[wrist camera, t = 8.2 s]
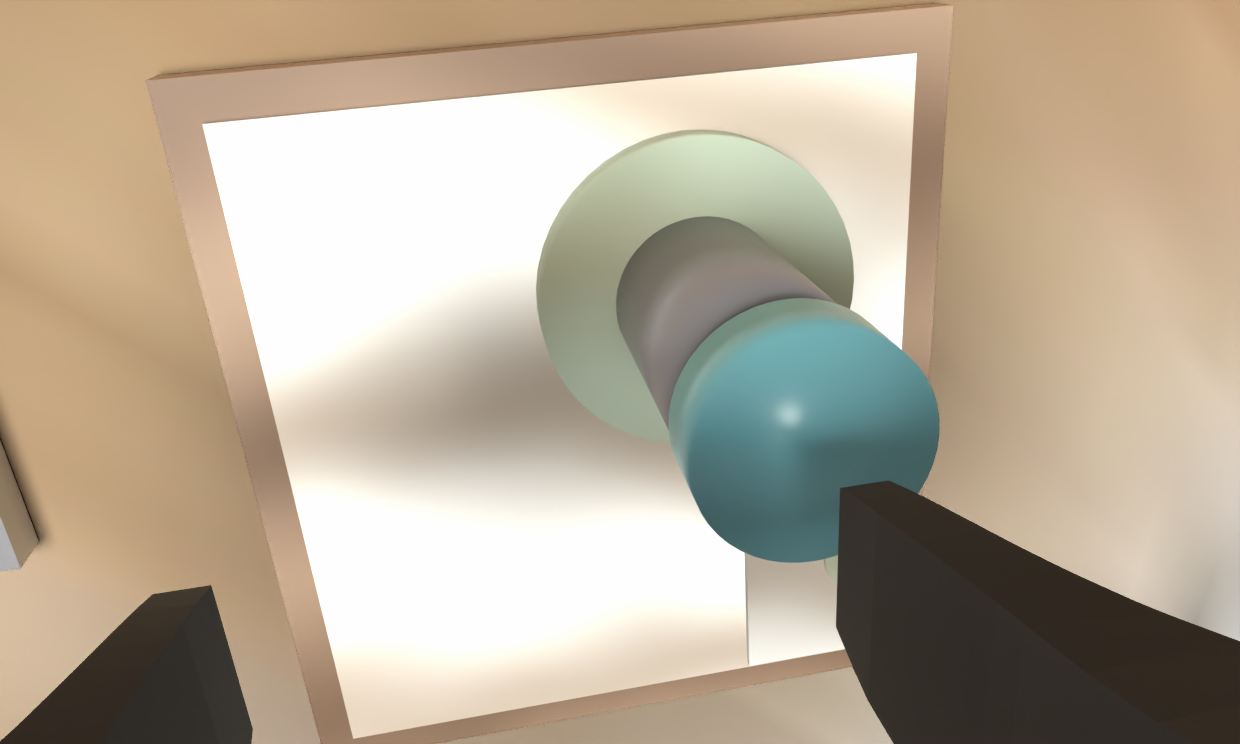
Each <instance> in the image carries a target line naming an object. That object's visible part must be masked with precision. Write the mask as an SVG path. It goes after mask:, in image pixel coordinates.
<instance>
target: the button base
mask: <svg viewBox="0 0 1240 744" xmlns="http://www.w3.org/2000/svg"><path fill="white" fill-rule="evenodd" d="M38 542H39V541H38V538H37V536H36V533H35V530H34V528H33V525H32V522H31V520H30V517H29V515H28V512H27V509H26V507H25V504H24V501H23V499H22V496H21V493H20V491H19V488H18V486H17V483H16V480H15V478H14V475H13V472H12V470H11V467H10V465H9V462H8V459H7V457H6V454H5V451H4V449H3V446H2V443H1V441H0V572H1V571H7V570H14V569H20V568H21V567H22V566H23V564H24V563H25V561H26V560H27V558H28V557H29V555H30V554H31V552H32V551H33V549H34V548H35V546H36V545H37V543H38Z"/></svg>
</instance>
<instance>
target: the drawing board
mask: <svg viewBox="0 0 1240 744" xmlns="http://www.w3.org/2000/svg"><path fill="white" fill-rule="evenodd" d="M952 17H953V5H946V4H937V3H931V4H921V5H910V6H899V7H888V8H877V9H867V10H856V11H845V12H834V13H823V14H813V15H802V16H791V17H780V18H769V19H759V20H748V21H737V22H726V23H716V24H705V25H694V26H683V27H672V28H662V29H651V30H640V31H629V32H618V33H608V34H597V35H586V36H575V37H564V38H554V39H543V40H532V41H521V42H511V43H500V44H489V45H478V46H467V47H457V48H446V49H435V50H424V51H413V52H403V53H392V54H381V55H370V56H360V57H349V58H338V59H327V60H316V61H306V62H295V63H284V64H273V65H262V66H252V67H241V68H230V69H219V70H208V71H198V72H187V73H176V74H165V75H157V76H155V77H152V78H150V79H148V80H146V84H147V87H148V91H149V95H150V99H151V103H152V106H153V110H154V114H155V118H156V121H157V125H158V129H159V133H160V137H161V140H162V144H163V148H164V152H165V155H166V159H167V163H168V167H169V171H170V174H171V178H172V182H173V186H174V189H175V193H176V197H177V201H178V205H179V208H180V212H181V216H182V220H183V224H184V227H185V231H186V235H187V239H188V242H189V246H190V250H191V254H192V258H193V261H194V265H195V269H196V273H197V276H198V280H199V284H200V288H201V292H202V295H203V299H204V303H205V307H206V311H207V314H208V318H209V322H210V326H211V329H212V333H213V337H214V341H215V345H216V348H217V352H218V356H219V360H220V363H221V367H222V371H223V375H224V379H225V382H226V386H227V390H228V394H229V397H230V401H231V405H232V409H233V413H234V416H235V420H236V424H237V428H238V432H239V435H240V439H241V443H242V447H243V450H244V454H245V458H246V462H247V466H248V469H249V473H250V477H251V481H252V484H253V488H254V492H255V496H256V500H257V503H258V507H259V511H260V515H261V519H262V522H263V526H264V530H265V534H266V537H267V541H268V545H269V549H270V553H271V556H272V560H273V564H274V568H275V571H276V575H277V579H278V583H279V587H280V590H281V594H282V598H283V602H284V605H285V609H286V613H287V617H288V621H289V624H290V628H291V632H292V636H293V640H294V643H295V647H296V651H297V655H298V658H299V662H300V666H301V670H302V674H303V677H304V681H305V685H306V689H307V692H308V696H309V700H310V704H311V708H312V711H313V715H314V719H315V723H316V727H317V730H318V734H319V738H320V742H321V744H436V743H441V742H447V741H452V740H458V739H463V738H469V737H474V736H479V735H485V734H490V733H496V732H501V731H506V730H512V729H517V728H523V727H528V726H534V725H539V724H544V723H550V722H555V721H561V720H566V719H571V718H577V717H582V716H588V715H593V714H599V713H604V712H609V711H615V710H620V709H626V708H631V707H636V706H642V705H647V704H653V703H658V702H664V701H669V700H674V699H680V698H685V697H691V696H696V695H701V694H707V693H712V692H718V691H723V690H729V689H734V688H739V687H745V686H750V685H756V684H761V683H766V682H772V681H777V680H783V679H788V678H794V677H799V676H804V675H810V674H815V673H821V672H826V671H831V670H837V669H842V668H848V667H853V666H852V664H851V662H850V659H849V657H848V655H847V652H846V650H845V648H844V645H843V643H842V640H841V638H840V636H839V633H838V631H837V629H836V605H837V572H838V555H837V556H834V557H831V558H826V559H822V560H817V561H811V562H801V563H783V562H776V561H769V560H765V559H761V558H757V557H754V556H751V555H749V554H747V553H744V552H742V551H740V550H738V549H737V548H735V547H733V546H732V545H730V544H728V543H727V542H726V541H725V540H723V539H722V538H721V537H720V536H718V535H717V533H716V532H715V531H714V530H713V529H712V528H711V527H710V526H709V525H708V523H707V522H706V520H705V519H704V517H703V515H702V514H701V512H700V510H699V508H698V506H697V504H696V502H695V500H694V497H693V495H692V493H691V491H690V489H689V487H688V485H687V483H686V481H685V478H684V476H683V474H682V472H681V470H680V468H679V466H678V463H677V461H676V459H675V457H674V454H673V450H672V447H671V443H670V436H669V430H668V428H667V426H666V424H665V422H664V420H663V418H662V416H661V414H660V412H659V410H658V408H657V406H656V404H655V401H654V399H653V397H652V395H651V393H650V391H649V389H648V387H647V385H646V383H645V381H644V379H643V377H642V375H641V373H640V371H639V369H638V367H637V365H636V363H635V360H634V358H633V356H632V354H631V352H630V350H629V348H628V346H627V344H626V342H625V340H624V338H623V336H622V333H621V331H620V328H619V324H618V320H617V313H616V297H617V289H618V286H619V282H620V278H621V276H622V274H623V271H624V269H625V267H626V265H627V263H628V262H629V260H630V258H631V257H632V255H633V254H634V253H635V251H636V250H637V249H638V248H639V247H640V246H641V245H642V244H643V243H644V242H645V241H646V240H647V239H648V238H649V237H651V236H652V235H653V234H654V233H656V232H657V231H659V230H661V229H662V228H664V227H666V226H668V225H670V224H672V223H675V222H678V221H681V220H684V219H688V218H693V217H703V216H712V217H721V218H725V219H730V220H733V221H735V222H738V223H741V224H742V225H744V226H746V227H748V228H750V229H751V230H752V231H754V232H755V233H756V234H758V235H759V236H760V237H761V238H762V239H763V240H765V241H766V242H767V243H768V244H769V245H770V246H771V247H773V248H774V249H775V250H776V251H777V252H778V253H779V254H781V255H782V256H783V257H784V258H785V259H786V260H788V261H789V262H790V263H791V264H792V265H793V266H794V267H796V268H797V269H798V270H799V271H800V272H801V273H802V274H804V275H805V276H806V277H807V278H808V279H809V280H811V281H812V282H813V283H814V284H815V285H816V286H817V287H819V288H820V289H821V290H822V291H823V292H824V293H825V294H827V295H828V296H829V297H830V298H831V299H832V300H834V301H835V302H836V303H837V304H838V305H841V306H844V307H846V308H848V309H850V310H852V311H854V312H855V313H857V314H859V315H860V316H862V317H863V318H864V319H866V320H867V321H868V322H869V323H871V324H872V325H873V326H874V327H875V328H877V329H878V330H879V331H880V332H881V333H882V334H884V335H885V336H886V337H887V338H888V339H890V340H891V341H892V342H893V343H894V344H895V345H897V346H898V347H899V348H900V349H901V350H902V351H904V352H905V353H906V354H907V355H908V356H909V357H910V358H911V359H912V360H913V361H914V362H915V363H916V364H917V365H918V366H919V367H920V369H921V370H922V372H923V373H924V375H925V376H926V377H927V379H928V381H929V375H930V359H931V344H932V328H933V313H934V297H935V282H936V266H937V250H938V235H939V219H940V204H941V188H942V173H943V157H944V142H945V126H946V111H947V95H948V80H949V64H950V49H951V33H952ZM918 494H919V495H921V496H922V488H921V490H920V492H919V493H918Z"/></svg>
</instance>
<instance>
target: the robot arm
mask: <svg viewBox="0 0 1240 744" xmlns="http://www.w3.org/2000/svg"><path fill="white" fill-rule="evenodd" d="M836 629H837V631H838V633H839V636H840V638H841V640H842V643H843V645H844V648H845V650H846V652H847V655H848V657H849V659H850V662H851V664H852V666H853V669H854V671H855V673H856V675H857V677H858V680H859V682H860V684H861V686H862V688H863V691H864V693H865V695H866V697H867V699H868V701H869V703H870V705H871V706H872V708H873V710H874V711H875V713H876V715H877V717H878V718H879V720H880V722H881V723H882V725H883V727H884V728H885V730H886V732H887V733H888V735H889V737H890V738H891V740H892V742H893V743H894V744H1240V641H1237V640H1235V639H1232V638H1229V637H1226V636H1224V635H1221V634H1218V633H1216V632H1213V631H1210V630H1208V629H1205V628H1202V627H1200V626H1197V625H1194V624H1192V623H1189V622H1186V621H1184V620H1181V619H1178V618H1176V617H1173V616H1170V615H1168V614H1165V613H1163V612H1160V611H1158V610H1155V609H1153V608H1150V607H1148V606H1146V605H1143V604H1141V603H1138V602H1136V601H1134V600H1131V599H1129V598H1127V597H1124V596H1122V595H1120V594H1118V593H1116V592H1113V591H1111V590H1109V589H1107V588H1105V587H1102V586H1100V585H1098V584H1096V583H1093V582H1091V581H1089V580H1087V579H1085V578H1082V577H1080V576H1078V575H1076V574H1074V573H1072V572H1069V571H1067V570H1065V569H1063V568H1061V567H1059V566H1057V565H1055V564H1053V563H1051V562H1049V561H1047V560H1045V559H1043V558H1041V557H1039V556H1037V555H1035V554H1033V553H1031V552H1029V551H1027V550H1025V549H1023V548H1021V547H1019V546H1017V545H1015V544H1013V543H1011V542H1009V541H1007V540H1005V539H1003V538H1001V537H999V536H998V535H996V534H994V533H992V532H990V531H988V530H986V529H984V528H982V527H980V526H978V525H977V524H975V523H973V522H971V521H969V520H967V519H965V518H963V517H961V516H960V515H958V514H956V513H954V512H952V511H950V510H948V509H946V508H944V507H942V506H941V505H939V504H937V503H935V502H933V501H931V500H929V499H927V498H925V497H923V496H921V495H919V494H917V493H915V492H913V491H911V490H909V489H907V488H905V487H903V486H900V485H898V484H896V483H894V482H891V481H889V480H888V481H881V482H875V483H868V484H862V485H856V486H849V487H843V488H840V505H839V538H838V572H837V605H836ZM252 731H253V729H252V725H251V722H250V718H249V715H248V711H247V708H246V704H245V701H244V698H243V694H242V691H241V687H240V684H239V680H238V677H237V673H236V670H235V666H234V663H233V659H232V656H231V653H230V649H229V646H228V642H227V639H226V635H225V632H224V628H223V625H222V621H221V618H220V614H219V611H218V608H217V604H216V601H215V597H214V594H213V590H212V587H211V585H210V586H204V587H197V588H191V589H184V590H178V591H171V592H165V593H159V594H153V595H152V596H150V597H149V598H148V599H147V600H146V601H145V602H144V603H143V604H141V605H140V606H139V607H138V608H137V609H136V610H135V611H134V612H133V613H132V614H131V615H130V616H129V617H128V618H127V619H126V620H125V621H124V622H123V623H122V624H120V625H119V626H118V627H117V628H116V629H115V630H114V631H113V632H112V633H111V634H110V635H109V636H108V637H107V638H106V639H105V640H104V641H103V642H102V643H101V644H100V645H99V646H98V647H97V648H96V649H95V650H94V651H93V652H92V653H91V654H90V655H89V656H88V657H87V658H86V659H85V660H84V661H83V662H82V663H81V664H80V665H79V666H78V667H77V668H76V669H75V670H74V671H73V672H72V673H71V674H70V675H69V676H68V677H67V678H66V679H65V680H64V681H63V682H62V683H61V684H60V685H59V686H58V687H57V688H56V689H55V690H54V691H53V692H52V693H51V694H50V695H49V696H48V697H47V698H46V699H45V700H43V701H42V702H41V703H40V704H39V705H38V706H37V707H36V708H35V709H34V710H33V711H32V712H31V713H30V714H29V715H28V716H27V717H26V718H25V719H24V720H23V721H22V722H21V723H20V724H19V725H18V726H17V727H16V728H15V729H13V730H12V731H11V732H10V733H9V734H8V735H7V736H6V737H5V738H3V739H2V740H1V741H0V744H251V740H252Z"/></svg>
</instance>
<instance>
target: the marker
mask: <svg viewBox="0 0 1240 744" xmlns="http://www.w3.org/2000/svg"><path fill="white" fill-rule="evenodd" d="M616 313H617V320H618V324H619V328H620V331H621V333H622V336H623V338H624V340H625V342H626V344H627V346H628V348H629V350H630V352H631V354H632V356H633V358H634V360H635V363H636V365H637V367H638V369H639V371H640V373H641V375H642V377H643V379H644V381H645V383H646V385H647V387H648V389H649V391H650V393H651V395H652V397H653V399H654V401H655V404H656V406H657V408H658V410H659V412H660V414H661V416H662V418H663V420H664V422H665V424H666V426H667V428H668V430H669V436H670V443H671V447H672V450H673V454H674V457H675V459H676V461H677V463H678V466H679V468H680V470H681V472H682V474H683V476H684V478H685V481H686V483H687V485H688V487H689V489H690V491H691V493H692V495H693V497H694V500H695V502H696V504H697V506H698V508H699V510H700V512H701V514H702V515H703V517H704V519H705V520H706V522H707V523H708V525H709V526H710V527H711V528H712V529H713V530H714V531H715V532H716V533H717V535H718V536H720V537H721V538H722V539H723V540H725V541H726V542H727V543H728V544H730V545H732V546H733V547H735V548H737V549H738V550H740V551H742V552H744V553H747V554H749V555H751V556H754V557H757V558H761V559H765V560H769V561H776V562H783V563H801V562H811V561H817V560H822V559H826V558H831V557H834V556H837V555H838V538H839V505H840V488H843V487H849V486H856V485H862V484H868V483H875V482H881V481H888V480H889V481H891V482H894V483H896V484H898V485H900V486H903V487H905V488H907V489H909V490H911V491H913V492H915V493H917V494H918V493H919V492H920V490H921V488H922V486H923V485H924V483H925V481H926V479H927V477H928V475H929V472H930V470H931V467H932V465H933V462H934V458H935V455H936V451H937V446H938V439H939V414H938V407H937V402H936V399H935V396H934V392H933V390H932V388H931V386H930V383H929V381H928V379H927V377H926V376H925V375H924V373H923V372H922V370H921V369H920V367H919V366H918V365H917V364H916V363H915V362H914V361H913V360H912V359H911V358H910V357H909V356H908V355H907V354H906V353H905V352H904V351H902V350H901V349H900V348H899V347H898V346H897V345H895V344H894V343H893V342H892V341H891V340H890V339H888V338H887V337H886V336H885V335H884V334H882V333H881V332H880V331H879V330H878V329H877V328H875V327H874V326H873V325H872V324H871V323H869V322H868V321H867V320H866V319H864V318H863V317H862V316H860V315H859V314H857V313H855V312H854V311H852V310H850V309H848V308H846V307H844V306H841V305H838V304H837V303H836V302H835V301H834V300H832V299H831V298H830V297H829V296H828V295H827V294H825V293H824V292H823V291H822V290H821V289H820V288H819V287H817V286H816V285H815V284H814V283H813V282H812V281H811V280H809V279H808V278H807V277H806V276H805V275H804V274H802V273H801V272H800V271H799V270H798V269H797V268H796V267H794V266H793V265H792V264H791V263H790V262H789V261H788V260H786V259H785V258H784V257H783V256H782V255H781V254H779V253H778V252H777V251H776V250H775V249H774V248H773V247H771V246H770V245H769V244H768V243H767V242H766V241H765V240H763V239H762V238H761V237H760V236H759V235H758V234H756V233H755V232H754V231H752V230H751V229H750V228H748V227H746V226H744V225H742V224H741V223H738V222H735V221H733V220H730V219H725V218H721V217H712V216H703V217H693V218H688V219H684V220H681V221H678V222H675V223H672V224H670V225H668V226H666V227H664V228H662V229H661V230H659V231H657V232H656V233H654V234H653V235H652V236H651V237H649V238H648V239H647V240H646V241H645V242H644V243H643V244H642V245H641V246H640V247H639V248H638V249H637V250H636V251H635V253H634V254H633V255H632V257H631V258H630V260H629V262H628V263H627V265H626V267H625V269H624V271H623V274H622V276H621V278H620V282H619V286H618V289H617V297H616Z"/></svg>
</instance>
